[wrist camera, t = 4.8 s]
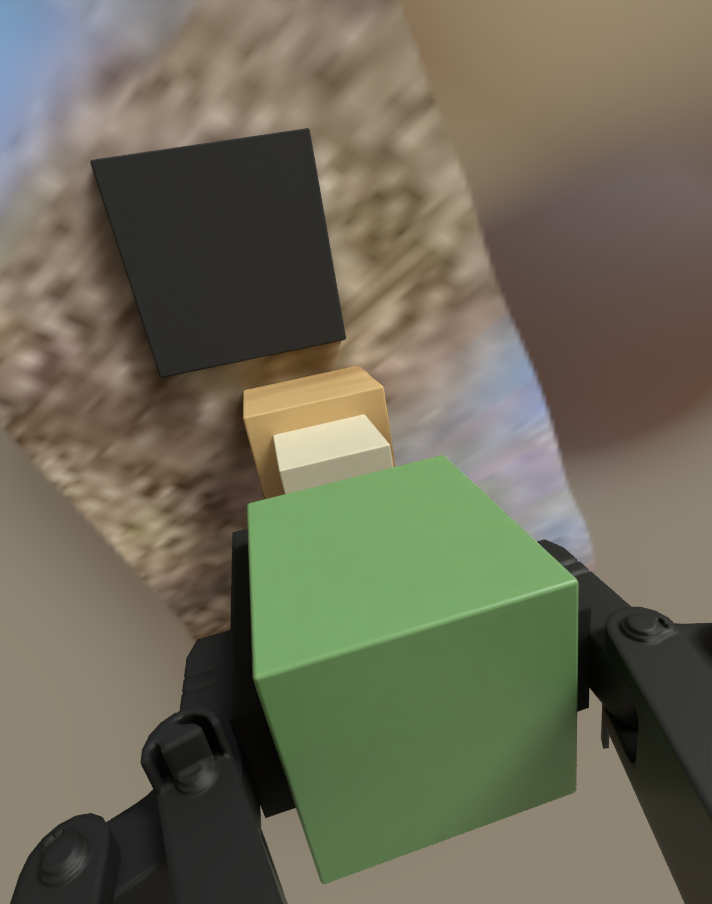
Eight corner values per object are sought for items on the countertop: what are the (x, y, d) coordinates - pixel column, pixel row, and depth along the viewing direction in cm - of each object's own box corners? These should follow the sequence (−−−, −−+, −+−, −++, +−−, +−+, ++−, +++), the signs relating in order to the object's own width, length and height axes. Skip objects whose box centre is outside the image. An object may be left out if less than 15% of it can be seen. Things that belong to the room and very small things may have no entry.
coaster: (93, 162, 20) (89, 159, 20) (307, 131, 21) (309, 127, 21) (162, 375, 24) (160, 378, 23) (344, 338, 25) (346, 339, 24)
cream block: (272, 434, 21) (278, 470, 17) (364, 413, 21) (390, 444, 17) (293, 517, 22) (302, 566, 18) (378, 495, 23) (404, 539, 19)
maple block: (242, 389, 25) (242, 417, 20) (358, 365, 25) (383, 386, 21) (270, 495, 27) (276, 542, 22) (376, 469, 28) (402, 509, 23)
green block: (246, 502, 13) (251, 678, 7) (443, 453, 14) (580, 579, 8) (291, 660, 15) (321, 888, 10) (460, 609, 16) (578, 793, 10)
